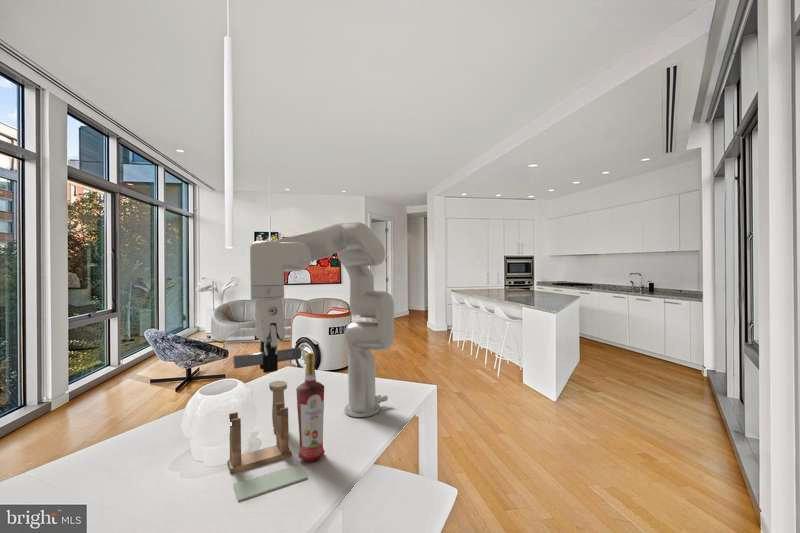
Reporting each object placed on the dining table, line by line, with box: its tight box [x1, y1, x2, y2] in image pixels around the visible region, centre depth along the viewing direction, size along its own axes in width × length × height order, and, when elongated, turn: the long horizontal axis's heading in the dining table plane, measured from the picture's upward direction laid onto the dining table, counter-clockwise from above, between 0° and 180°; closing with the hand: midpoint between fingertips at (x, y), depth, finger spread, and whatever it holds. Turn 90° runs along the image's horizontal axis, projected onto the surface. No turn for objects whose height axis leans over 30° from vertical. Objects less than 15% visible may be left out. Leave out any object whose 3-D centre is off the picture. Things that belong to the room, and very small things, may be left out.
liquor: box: [296, 352, 325, 463], centre depth 97 cm, size 7×7×28 cm
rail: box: [232, 347, 302, 369], centre depth 87 cm, size 15×3×3 cm, turn 122°
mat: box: [233, 463, 308, 503], centre depth 87 cm, size 16×7×1 cm, turn 122°
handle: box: [268, 380, 288, 434], centre depth 114 cm, size 5×6×15 cm
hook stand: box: [226, 402, 293, 475], centre depth 97 cm, size 15×6×13 cm, turn 122°
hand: (268, 369), depth 87 cm, fingers closed on rail, 2 cm apart
